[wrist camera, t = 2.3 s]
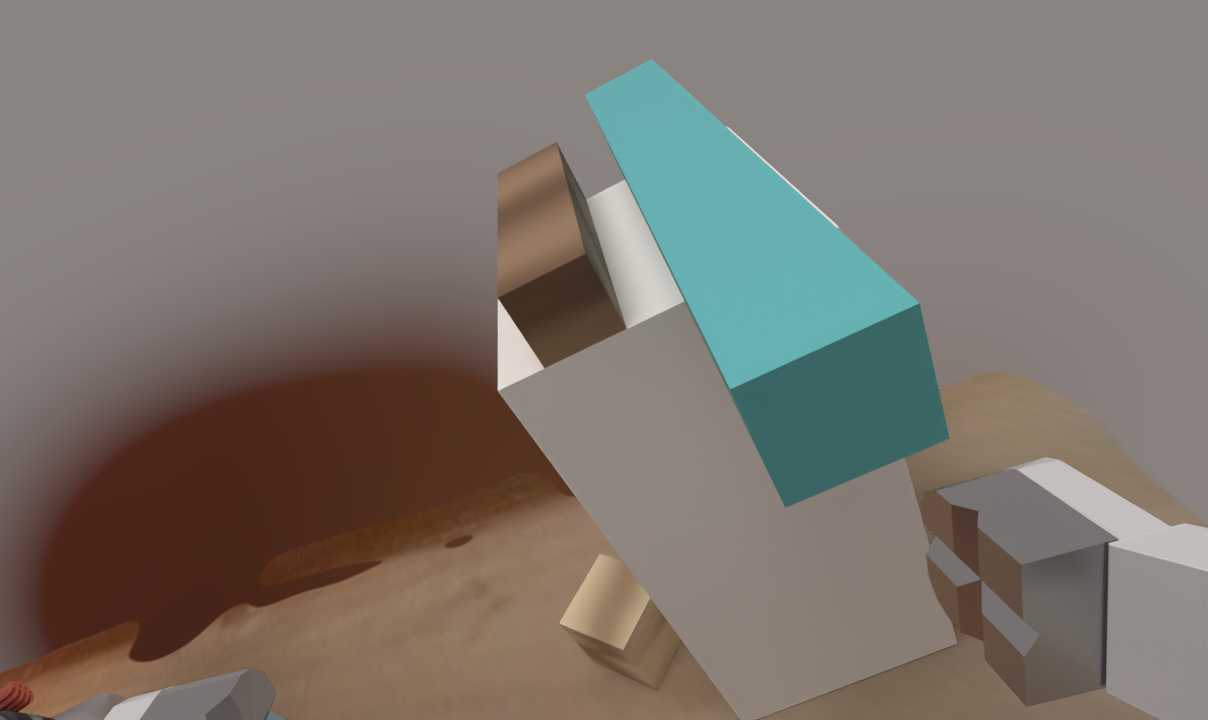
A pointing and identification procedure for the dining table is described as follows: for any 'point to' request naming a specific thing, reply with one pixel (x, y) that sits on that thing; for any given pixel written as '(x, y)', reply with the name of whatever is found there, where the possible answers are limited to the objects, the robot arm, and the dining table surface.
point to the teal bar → (775, 294)
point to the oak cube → (620, 624)
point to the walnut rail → (552, 260)
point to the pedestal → (721, 499)
